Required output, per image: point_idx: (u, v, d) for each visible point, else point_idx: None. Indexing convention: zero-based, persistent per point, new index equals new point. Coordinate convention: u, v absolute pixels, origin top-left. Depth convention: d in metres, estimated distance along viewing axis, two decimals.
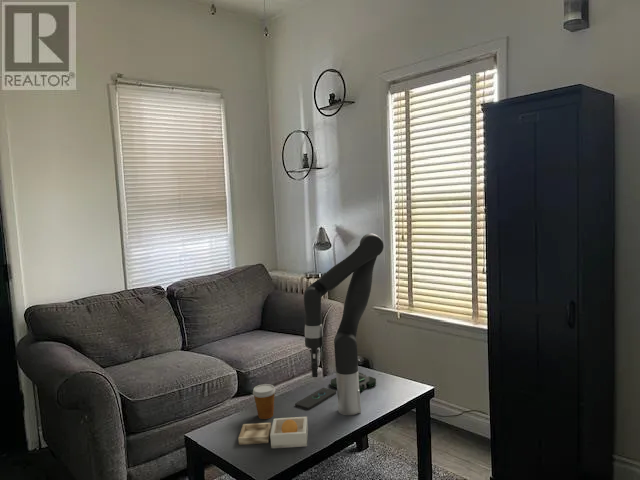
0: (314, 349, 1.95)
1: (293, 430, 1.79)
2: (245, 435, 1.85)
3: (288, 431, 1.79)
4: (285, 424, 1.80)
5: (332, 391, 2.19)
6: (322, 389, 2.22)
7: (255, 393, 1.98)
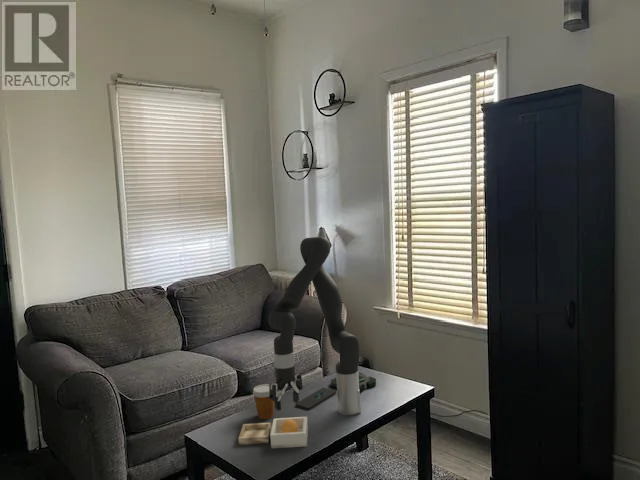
0: None
1: (293, 430, 1.79)
2: (245, 435, 1.85)
3: (288, 431, 1.79)
4: (285, 424, 1.80)
5: (332, 391, 2.19)
6: (322, 389, 2.22)
7: (255, 393, 1.98)
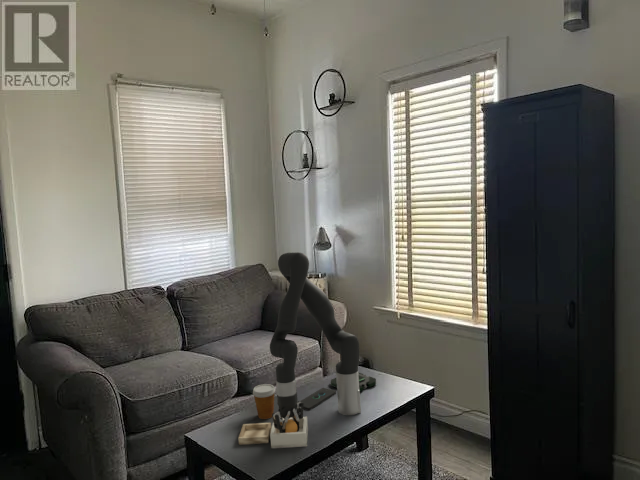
0: None
1: (293, 430, 1.79)
2: (245, 435, 1.85)
3: (288, 431, 1.79)
4: None
5: (332, 391, 2.19)
6: (322, 389, 2.22)
7: (255, 393, 1.98)
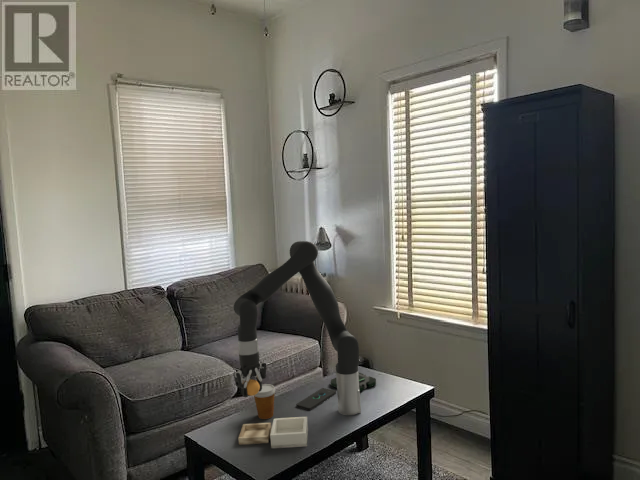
0: None
1: (255, 389, 1.81)
2: (245, 435, 1.85)
3: (250, 390, 1.80)
4: (247, 383, 1.81)
5: (332, 391, 2.19)
6: (322, 389, 2.22)
7: None
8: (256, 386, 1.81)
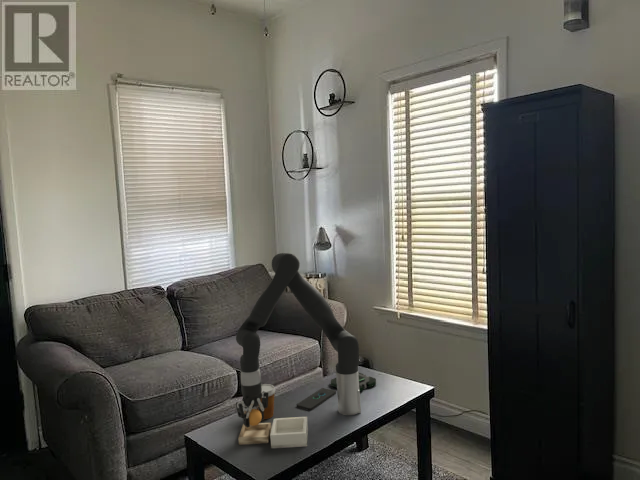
0: None
1: (257, 419, 1.82)
2: (245, 435, 1.85)
3: (252, 420, 1.81)
4: None
5: (332, 391, 2.19)
6: (321, 389, 2.22)
7: None
8: (258, 416, 1.82)
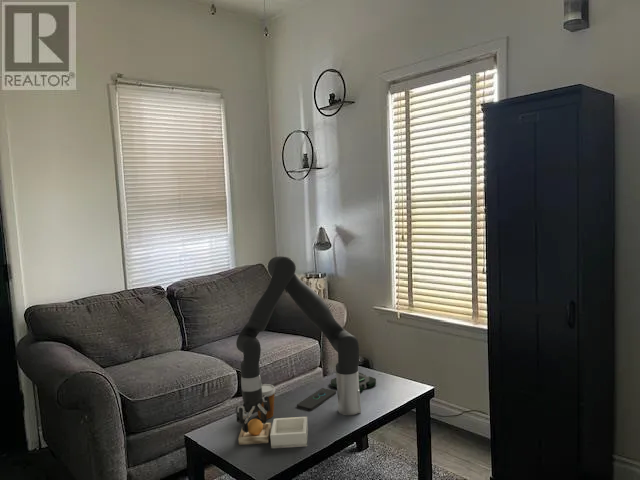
0: None
1: (258, 429, 1.82)
2: (245, 435, 1.85)
3: (253, 430, 1.82)
4: (250, 423, 1.83)
5: (332, 391, 2.19)
6: (321, 389, 2.22)
7: None
8: (259, 426, 1.83)
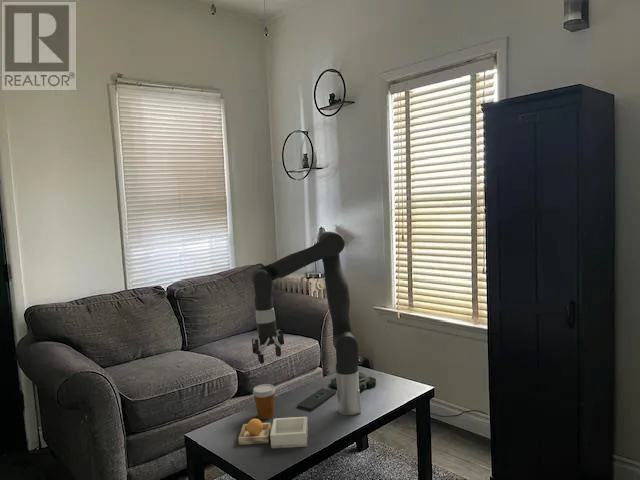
0: None
1: (258, 429, 1.82)
2: (245, 435, 1.85)
3: (253, 430, 1.82)
4: (250, 423, 1.83)
5: (332, 391, 2.19)
6: (321, 389, 2.22)
7: (255, 393, 1.98)
8: (259, 426, 1.83)
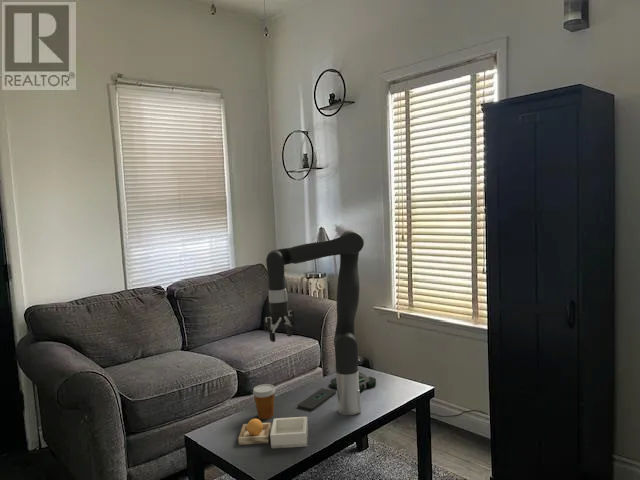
0: None
1: (258, 429, 1.82)
2: (245, 435, 1.85)
3: (253, 430, 1.82)
4: (250, 423, 1.83)
5: (332, 391, 2.19)
6: (321, 390, 2.22)
7: (255, 393, 1.98)
8: (259, 426, 1.83)
